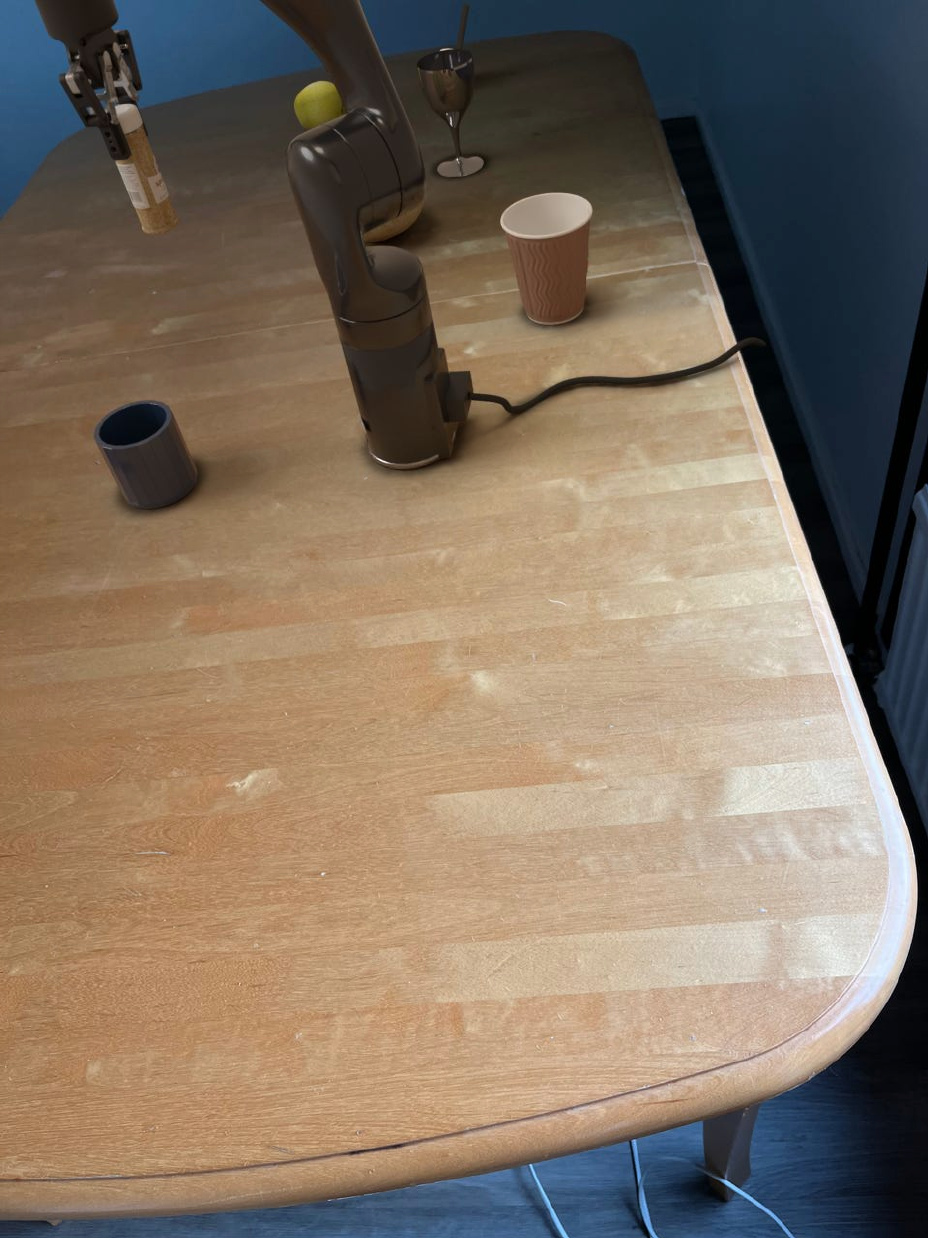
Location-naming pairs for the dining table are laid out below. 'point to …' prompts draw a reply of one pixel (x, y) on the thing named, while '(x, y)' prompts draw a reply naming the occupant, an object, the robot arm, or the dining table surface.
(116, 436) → the holder cup
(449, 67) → the wine glass
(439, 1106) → the dining table surface
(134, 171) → the sprinkles bottle
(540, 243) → the coffee cup
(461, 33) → the dark thin bar
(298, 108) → the apple
